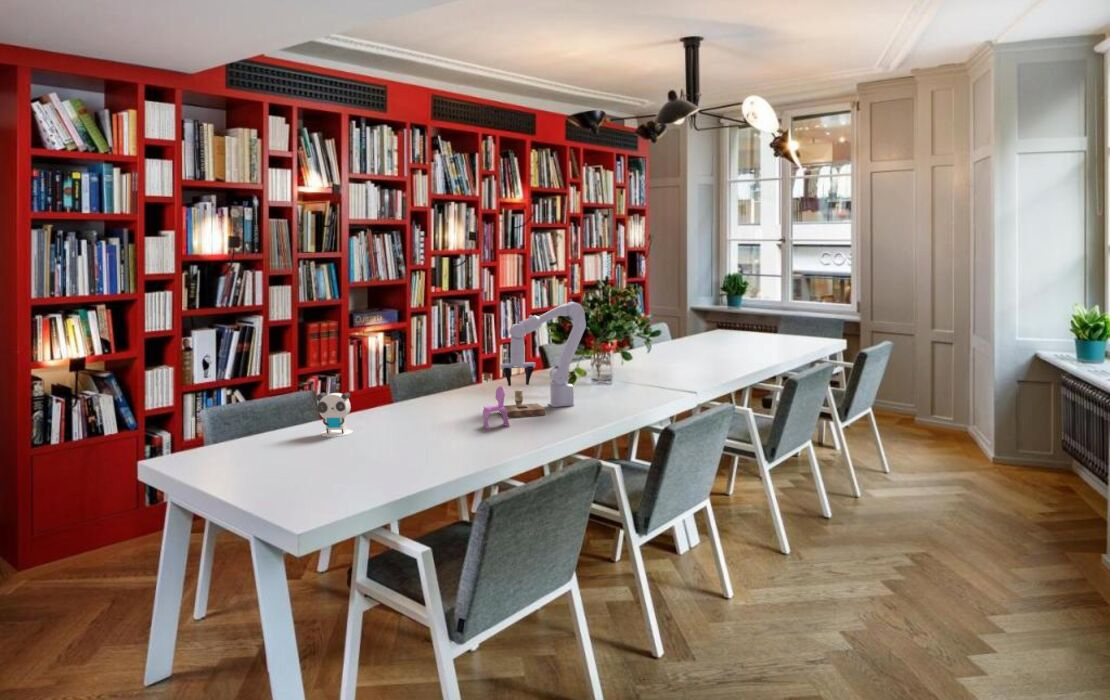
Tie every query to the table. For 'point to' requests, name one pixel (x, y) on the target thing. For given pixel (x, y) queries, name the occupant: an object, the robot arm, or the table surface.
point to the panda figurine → (334, 413)
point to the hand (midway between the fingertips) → (518, 385)
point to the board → (524, 410)
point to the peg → (518, 397)
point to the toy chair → (496, 407)
